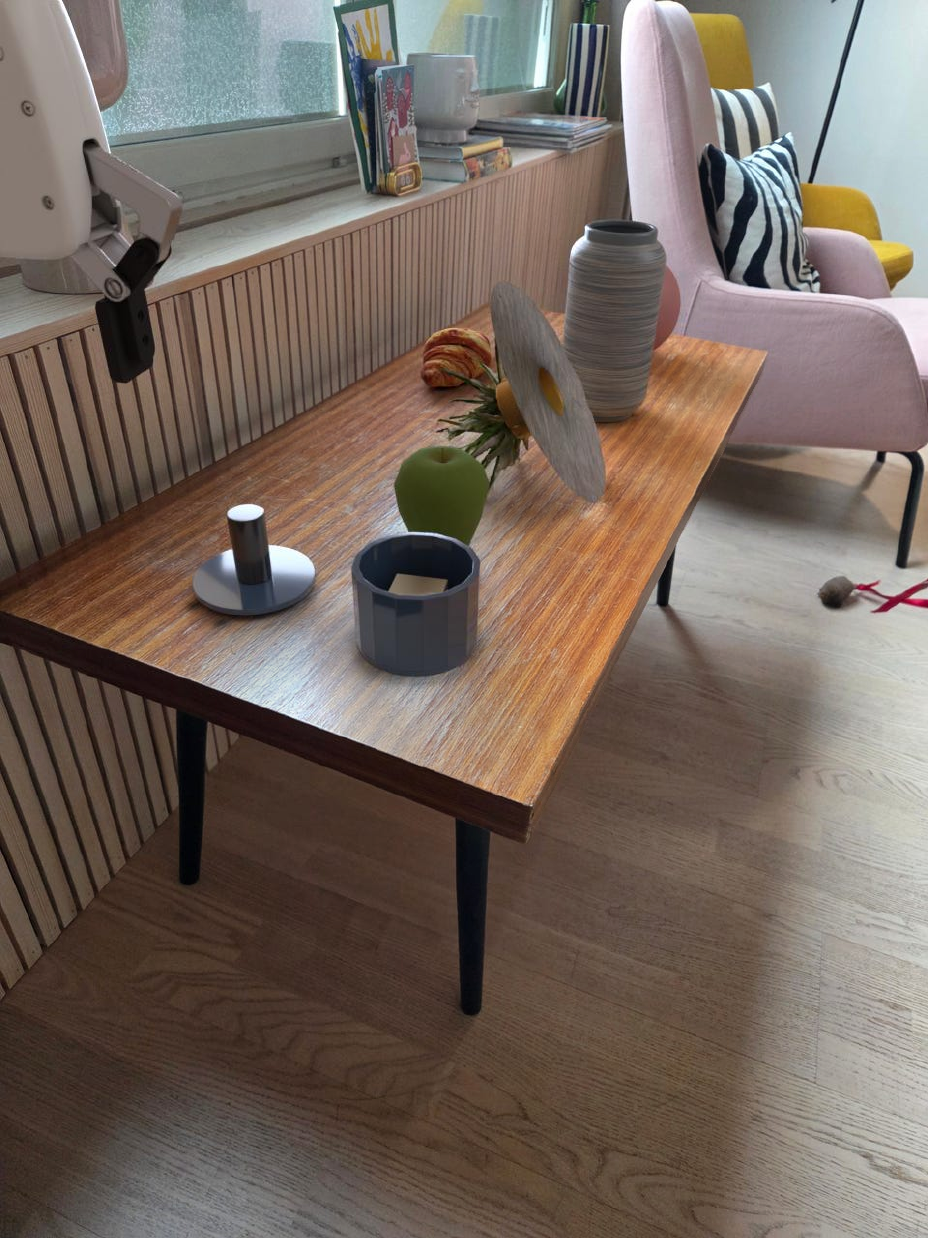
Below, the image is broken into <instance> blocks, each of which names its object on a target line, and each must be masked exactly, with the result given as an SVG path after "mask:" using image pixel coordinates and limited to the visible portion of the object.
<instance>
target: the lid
mask: <svg viewBox="0 0 928 1238" xmlns="http://www.w3.org/2000/svg"><path fill="white" fill-rule="evenodd" d="M226 520H227V526H228V527H227V528H228V533H229V539H230V545H231V549H228V550H225V551H222V552H221V553H218V554H216V555H214V556H212V557H210V558H209V559H208V560H206V561H204V562H203V563H202V564H201V565H200V566H199V567H198V568H197V570H196V571H195V573H194V574H193V577H192V581H191V585H192V591H193V595H194V596H195V598H196V599H197V601H199V602H200V604H202V605H203V606H204V607H206V608H208V609H210V610H212V611H215V612H217V613H221V614H225V615H226V614H227V615H230V616H231V615H233V616H256V615H265V614H269V613H274V612H277V611H280V610H284V609H287V608H289V607H290V606H293V605H295V604H296V603H298V602H300V601H301V600H303V599H304V598H305V597H306V596H307V595H308V594H310V592H311V591H312V589H313V588H314V586H315V583H316V581H317V580H316V579H317V575H316V567H315V565H314V563H313V561H312V560H311V559H310V558H309V557H308V556H307V555H306V554H304V553H303V552H300V551H298V550H296V549H293V548H291V547H287V546H282V545H275V544H269V537H268V530H267V521H266V513H265V510H264V508H263V507H262V506H260V505H257V504H253V503H252V504H251V503H246V504H245V503H244V504H243V503H242V504H239V505H236V506H233V507H231V508H230V509H229V510H227V512H226Z"/></svg>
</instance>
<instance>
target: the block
mask: <svg viewBox="0 0 928 1238" xmlns="http://www.w3.org/2000/svg"><path fill="white" fill-rule="evenodd" d="M447 590H448V580H445V579H437V578H429V577H421V576H413V575H405V574H397V575H396V577H395V579H394V581H393V583H392V585H391V587H390V589H389V591H388V592H391V593H394V594H397V595H414V596H424V595H430V594H436V593H442V592H445V591H447Z"/></svg>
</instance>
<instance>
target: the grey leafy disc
mask: <svg viewBox="0 0 928 1238" xmlns="http://www.w3.org/2000/svg"><path fill="white" fill-rule="evenodd" d="M489 306H490V307H489V308H490V317H491V325H492V331H493V336H494V339H493V341H494V358H495V364H496V365H495V366H496V372H495V371H494V370H493V369H491V367H490V368H489V367H487V366H486V365H484V364H483V363H482V362H481V361H479V360H478V359H477V358H476V357H474V359H475V360H476V361H477V363H478V364H480V367H482V368H484V369H485V370H486V371H485V372H486V373H487V374H488V377H489V378H490V380H491V381H492V383H493V384H494V385H495V386H493V385H492V384H491V383H489V384H488V385H485V384H484V383H483V382H481V381H480V380H477V379H469V378H468V377H465V376H463V375H460V374H458V373H456V372H453V371H452V370H448V369H441V368H440V370H441V371H442V372H445V373H446V374H448V375H452V376H455V377H457V378H459V379H460V380H462V381H464V383H465V384H467V385H468V386H471V387H472V388H474V389H475V390H476V391H478V392H480V394H481V395H480V394H473V395H472V396H473V397H476V398H478V399H470V398H469V399H467V398H453V399H451V400H449V403H454V402H457V403H459V402H461V403H465V404H475V405H480V406H477V407H475V408H473V410H472V411H470V410H469V411H468V413H467V414H461V415H453V413H450V415H449V417H448V419H447V418H445V419H444V418H441V417H440V418H439V419H438V420H436V423H435V425H437V426H438V425H439V423H440V422H443V423H447V424H448V425H453V426H455V427H445V428H441V429H437V430H436V431H435V434H436V433H437V434H439V433H440V434H441V433H444V432H447V437H446V439H447V441H448V442H451V441H452V440H453V439H454V438H457V437H459V436H461V435H463V434H464V433H466V432H467V433H475V434H476V433H477V434H478V433H479V434H480V435H479V436H478V438H476V439H475V440H474V441H472V442H470V443H468V444H466V445H464V446H462V447H458V448H459V449H462V450H464V451H465V452H467V453H468V454H470V455H471V456H472V457H474V458H475V459H476V460H477V458H478V457H480V456H481V455H483V454H484V453H485V452H487V453H486V455H485V456H484V458H483V459H482V460H481V462H480V463H481V464H482V466H483V467H484V468H485V470H486V469H487V468H488V467H489V466H490V464H491V463H492V461H493V460H494V459H495V464H494V466H493V469H492V473H491V476H490V480H489V483H490V486H489V490H488V494H487V495H489V494H490V493H491V492H492V491H493V490H494V483H495V481H496V480H497V478H498V476H499V474H500V473H501V471H504V472H505V471H506V470H507V468H509V467H513V466H514V465H515V464H516V462H517V461H519V462H520V461H521V458H520V456H521V455H520V453H521V452H520V451H521V443H522V444H523V446H524V448H525V450H526V451H529V439H530V438H531V437H532V438H533V441H534V442H535V443H536V444H537V446H538V448H539V449H540V451H541V452H542V453H543V455H544V457H545V458H546V460H547V461H548V463H549V464H550V465H551V467H552V469H553V470H554V472H555V473H557V476H559V478H560V479H561V481H563V482H564V484H565V485H566V486H567V487H568V488H569V489H570V491H572V492H574V493H575V494H576V495H577V496H579V497H580V498H581V499H583V500H585V501H587V502H589V503H597V502H599V501H600V500H601V499H602V497H603V496H604V493H605V489H606V484H607V483H606V482H607V471H606V464H605V459H604V454H603V450H602V444H601V442H602V441H601V438H600V434H599V431H598V428H597V424H596V422H595V421H594V418H593V415H592V413H591V411H590V409H589V407H588V405H587V402H586V398H585V394H584V390H583V387H582V385H581V382H580V380H579V378H578V376H577V374H576V372H575V370H574V369H573V367H572V365H571V364H570V362H569V360H568V358H567V356H566V353H565V351H564V349H563V347H562V345H563V343H562V342H561V340H560V339H559V337H558V335H557V334H556V331H555V330H554V328H553V326H552V325H551V323H550V322H549V320H548V318H547V317H546V316H545V314H544V313H543V312H542V311H541V309H540V308H539V306H537V304H536V303H535V302H534V301H533V300H532V298H530V297H529V295H527V294H526V293H525V292H524V291H523V290H522V289H521V288H520V287H518V286H517V285H515V284H513V283H512V282H510V281H507V280H499V281H498V282H496V283H495V284H494V285H493V287H492V291H491V294H490V305H489ZM457 419H458V421H455V420H457Z"/></svg>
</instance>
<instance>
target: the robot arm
mask: <svg viewBox="0 0 928 1238" xmlns="http://www.w3.org/2000/svg"><path fill="white" fill-rule="evenodd" d="M86 63H87V62H86V61H85V58H84V55H83V51H82V49H81V46H80V43H79V40H78V38H77V34H76V32H75V30H74V26H73V23H72V21H71V19H70V17H69V14H68V11H67V9H66V7H65V4H64V2H63V0H0V258H7V259H20V260H35V261H36V260H38V261H54V260H60V259H63V258H66V257H70V259H72V260H73V262H74V263H75V264H76V265H77V266H78V267H79V269H80V270H82V272H83V273H84V274H85V275H86V276H87V277H88V278H89V280H90V281H91V282H93V284H94V285H95V287H97V288H98V290H100V291H101V293H102V294H103V296H104V297H103V298H101V299H99V300H97V301H95V305H94V310H95V315H96V320H97V324H98V328H99V329H98V330H99V334H100V337H101V342H102V347H103V351H104V355H105V360H106V366H107V370H108V373H109V377H110V379H111V380H113V382H114V383H117V384H125V385H126V384H129V383H130V382H131V381H133V380H135V379H136V378H138V377H139V376H140V375H142V374H143V373H145V372H146V371H148V370H149V369H150V368H152V367H153V366H154V357H155V353H156V343H155V337H154V333H153V326H152V323H151V322H152V321H151V317H150V311H149V306H148V301H147V295H146V289H147V288H149V287H151V286H152V285H153V283H154V280H155V277H156V275H157V274H158V273H159V272H160V270H161V269H162V267H163V266H164V265H165V264H166V262H167V261H168V260H169V258H170V257H171V255H172V253H173V252H172V251H173V249H172V242H173V241H174V239H175V237H176V234H177V230H178V226H179V222H180V220H181V216H182V213H183V208H184V207H183V201H182V199H181V198H180V196H179V195H178V194H176V193H175V192H173V191H172V190H170V189H168V188H167V187H166V186H163V185H162V184H160V183H159V182H157V181H155V180H154V179H152V177H149V176H148V175H146V174H145V173H143V172H141V171H139V170H138V169H136V168H134V167H133V166H131V165H129V164H128V163H126V162H125V161H123V160H122V159H120V158H119V157H117V156H115V155H114V154H112V152H111V149H110V144H109V140H108V136H107V133H106V129H105V125H104V121H103V117H102V114H101V111H100V106H99V103H98V100H97V95H96V93H95V90H94V85H93V82H92V79H91V75H90V73H89V70H88V67H87V64H86ZM122 204H123V205H125V206H127V207H128V208H129V209H131V210H132V211H133V212H134V213H135V214H136V216H137V218H138V226H137V236H136V239H135V240H134V241H133V242H132V243H131V244H130V243H129V242H128V240H127V239H126V238H125V237H124V236H123V235H122V234H121V233H120V232H121V231H122V228H123V214H122V212H123V211H122Z"/></svg>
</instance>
